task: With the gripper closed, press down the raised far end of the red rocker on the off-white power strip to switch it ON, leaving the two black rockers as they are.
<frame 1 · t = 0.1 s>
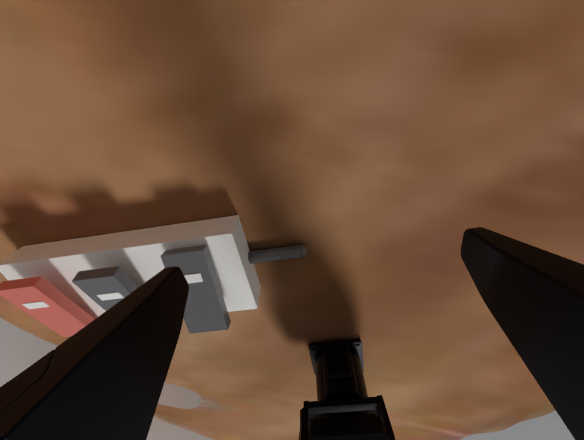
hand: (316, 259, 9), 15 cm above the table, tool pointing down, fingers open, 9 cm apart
power strip: (147, 267, 28), on the table
rocker red: (53, 309, 25), point 5 cm above the table, hinge at -10.0°
rocker middle: (123, 301, 24), point 5 cm above the table, hinge at -10.0°
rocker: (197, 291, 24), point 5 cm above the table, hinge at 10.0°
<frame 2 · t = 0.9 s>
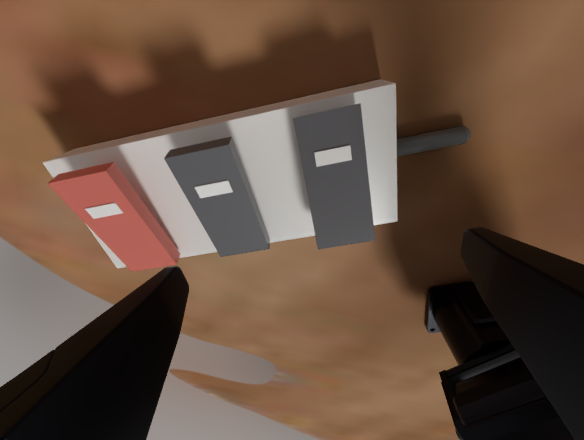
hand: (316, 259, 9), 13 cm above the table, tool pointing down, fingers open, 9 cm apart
power strip: (237, 176, 21), on the table
rocker red: (123, 224, 18), point 5 cm above the table, hinge at -10.0°
rocker middle: (225, 205, 17), point 5 cm above the table, hinge at -10.0°
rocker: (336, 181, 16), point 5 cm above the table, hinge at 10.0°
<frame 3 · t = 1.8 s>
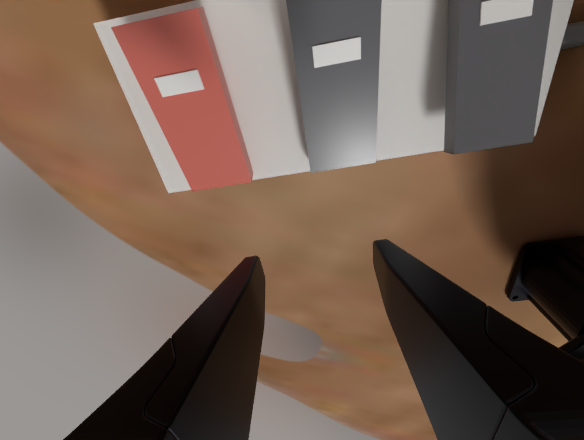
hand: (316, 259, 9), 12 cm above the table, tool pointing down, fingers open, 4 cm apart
power strip: (327, 80, 17), on the table
rocker red: (196, 115, 14), point 5 cm above the table, hinge at -10.0°
rocker middle: (337, 89, 13), point 5 cm above the table, hinge at -10.0°
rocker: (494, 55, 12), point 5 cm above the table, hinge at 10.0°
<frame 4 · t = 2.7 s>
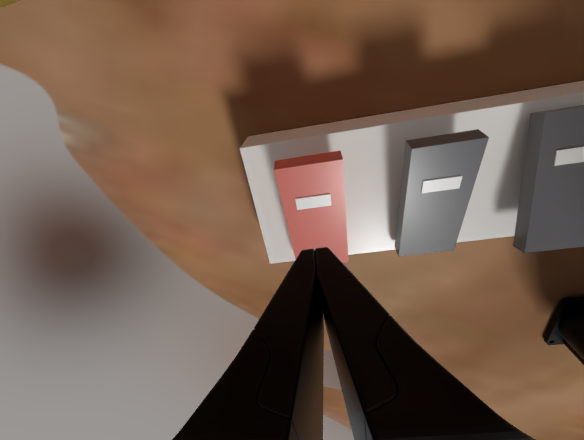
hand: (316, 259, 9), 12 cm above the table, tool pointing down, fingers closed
power strip: (407, 173, 20), on the table
rocker red: (315, 217, 17), point 5 cm above the table, hinge at -10.0°
rocker middle: (432, 202, 16), point 5 cm above the table, hinge at -10.0°
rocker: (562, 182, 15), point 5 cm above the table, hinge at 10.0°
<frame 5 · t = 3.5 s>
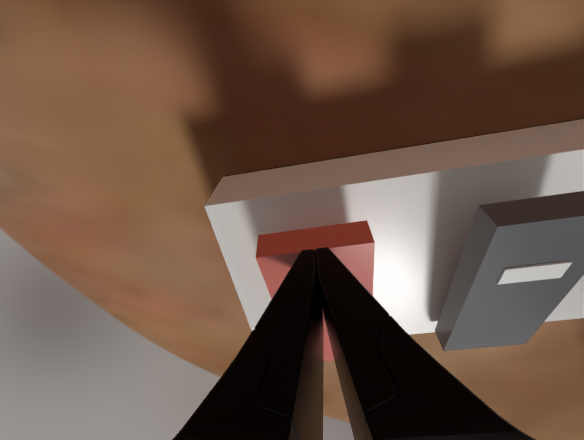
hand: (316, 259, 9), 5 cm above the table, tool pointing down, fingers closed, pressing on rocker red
power strip: (450, 224, 14), on the table
rocker red: (324, 308, 11), point 5 cm above the table, hinge at -10.0°, touching gripper
rocker middle: (507, 288, 10), point 5 cm above the table, hinge at -10.0°
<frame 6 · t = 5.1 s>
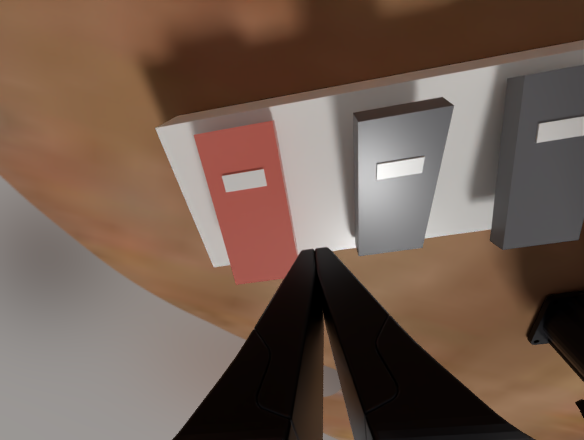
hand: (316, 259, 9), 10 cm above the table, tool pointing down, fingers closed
power strip: (370, 158, 17), on the table
rocker red: (253, 209, 14), point 5 cm above the table, hinge at 10.4°
rocker middle: (393, 191, 13), point 5 cm above the table, hinge at -10.0°
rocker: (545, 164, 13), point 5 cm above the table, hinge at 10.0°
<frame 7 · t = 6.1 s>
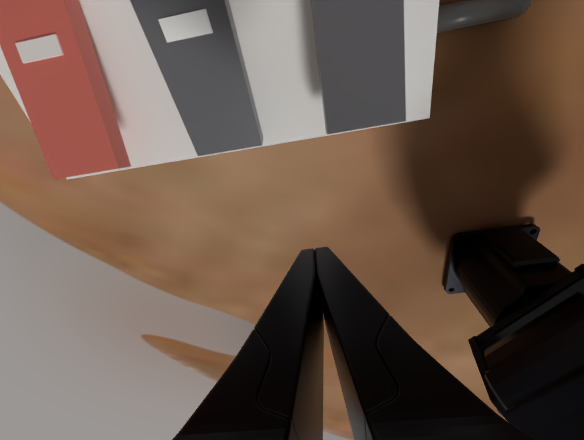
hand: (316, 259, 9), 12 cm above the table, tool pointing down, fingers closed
power strip: (225, 62, 16), on the table
rocker red: (63, 89, 13), point 5 cm above the table, hinge at 14.8°, touching power strip
rocker middle: (203, 66, 12), point 5 cm above the table, hinge at -10.0°
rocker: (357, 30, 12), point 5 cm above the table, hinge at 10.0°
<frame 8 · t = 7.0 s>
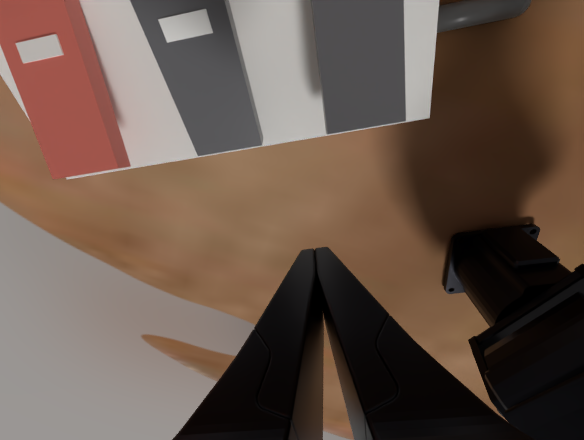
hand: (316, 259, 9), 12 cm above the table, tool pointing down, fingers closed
power strip: (225, 62, 16), on the table
rocker red: (63, 89, 13), point 5 cm above the table, hinge at 15.1°, touching power strip
rocker middle: (203, 66, 12), point 5 cm above the table, hinge at -10.0°
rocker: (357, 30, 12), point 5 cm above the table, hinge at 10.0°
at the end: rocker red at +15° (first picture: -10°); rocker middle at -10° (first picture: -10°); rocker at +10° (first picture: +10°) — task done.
